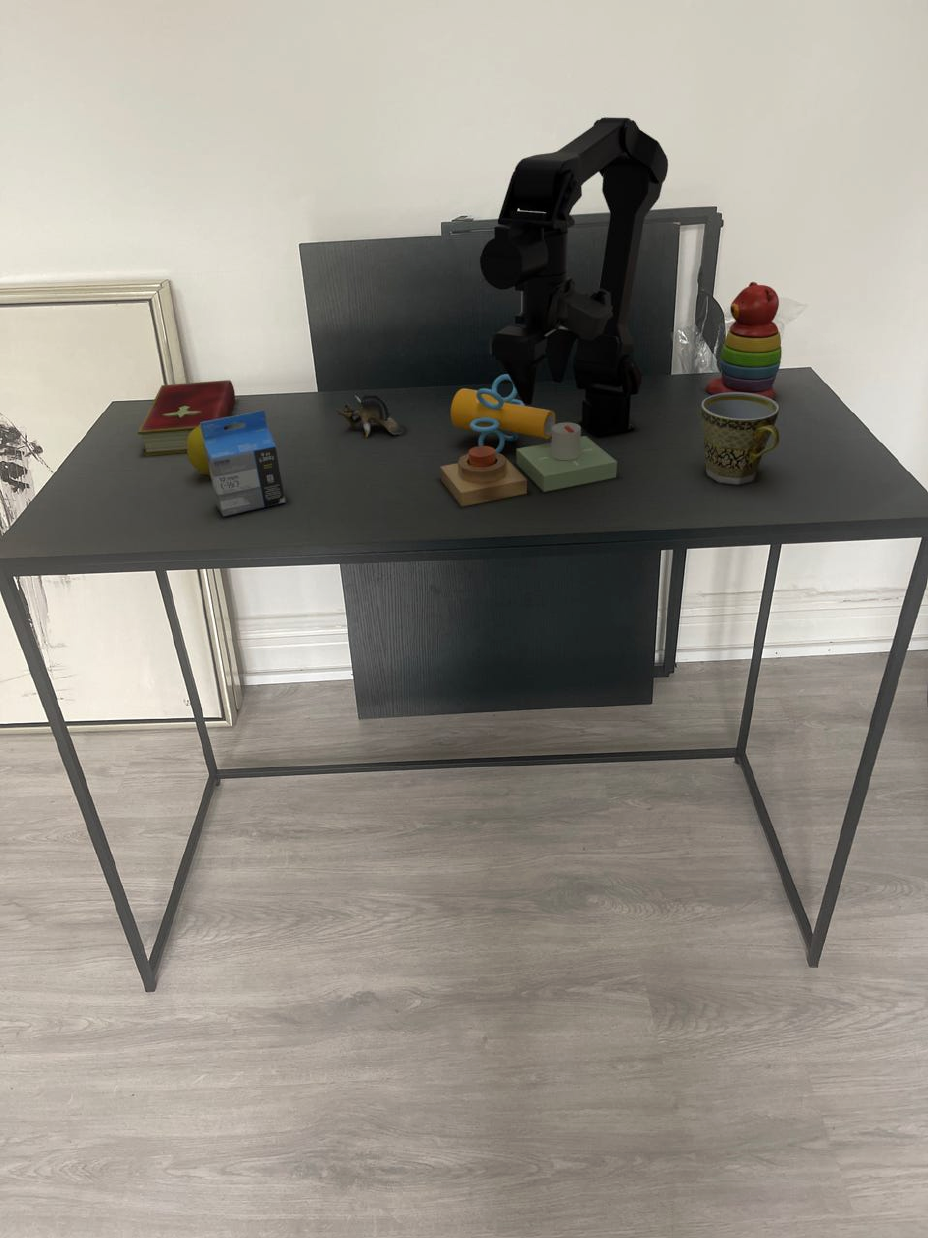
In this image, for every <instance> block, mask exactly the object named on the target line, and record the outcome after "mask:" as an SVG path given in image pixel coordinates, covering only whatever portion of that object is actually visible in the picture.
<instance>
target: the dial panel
mask: <svg viewBox="0 0 928 1238" xmlns="http://www.w3.org/2000/svg"><path fill="white" fill-rule="evenodd" d="M515 452H516V466H518V467H519V469H521V471H523V472H524V473H525V474H526V475H527V476H528V478H530V479H531V480H532V482H533V483H534V484H536V486H538V488H540V490H541V491H542V492H543V493H545V492H549V491H551V492H552V491H555V490H560V489H564V488H571V487H575V486H580V485H586V484H589V483H595V482H600V481H604V480H610V479H615V478H617V469H618V461H617V460H616V459H614V457H612V456H611V455H610V454H608V453H607V452H606V451H605V450H604V449H602V448H601V447H600V446H599V445H598V444H596V443H595V442H593V440H592V439H590V438H589V437H588V436H587V435H583V436H581V438H580V456H579V457H578V458H576V459H573V460H559V459H555V458H554V457H552V441H550V442H545V443H541V444H535V445H530V446H529V445H528V446H524V447H519V448H516V451H515Z"/></svg>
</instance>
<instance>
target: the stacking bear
mask: <svg viewBox="0 0 928 1238" xmlns="http://www.w3.org/2000/svg"><path fill="white" fill-rule="evenodd" d="M779 305H780V299H779V296H778V294H777V291H775V289H774V288H772V287H771V286H769V285H765V284H758V283H757V282H756V281H751V282H749V284H748V286H747V287H745V288H743V289H742V290H741V291H740V292H739V293H738V294H737V296H736V297H735V298H734V299H733V300H732V302H731V304H730V308H729V311H730V314H731V317H732V318H733V319H734V322H732V324H731V325H730V326H729V330H728V331H727V334H726V336H725V339H724V343H723V345H722V348H721V351H720V359H719V360H720V363H719V364H720V371H721V372H720V373H721V377H718V378H717V377H716V378H714V379H711V380H709V382H708V383H707V384H706V391H707V393H708V394H711V395H716V394H721V393H729V392H743V393H752V394H757V395H761V396H765V397H767V398H770V399H772V400H773V399H774V398H775V389H774V383H775V380H776V378H777V374H778V373H779V370H780V366H781V363H782V356H783V355H782V353H783V351H782V350H783V349H782V337H781V336H782V335H781V332H780V330H779V328H778V326H777V324H776V323H775V322H773V321H774V320H775V318H776V316H777V313H778V310H779V307H780V306H779Z"/></svg>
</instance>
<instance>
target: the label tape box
mask: <svg viewBox="0 0 928 1238" xmlns="http://www.w3.org/2000/svg"><path fill="white" fill-rule="evenodd" d="M233 423H236V424H237V425H238V424H244V426H240V427H236V428H235V427H234V428H230V429H226V430H224V427H225V426H227V427H228V426H231V425H232V424H233ZM200 426H201V431H202V435H203V444H204V449H205V453H206V457H207V461H208V466H209V470H210V474H211V476H210V478H211V483H212V488H213V492H214V497H215V501H216V504H217V508H218V510H219V511H220V513H221V515H222V517H228V516H232V515H237V514H240V513H245V512H250V511H253V510H258V509H262V508H268V507H271V506H276V505H279V504H284V503H286V495H285V489H284V483H283V479H282V473H281V467H280V461H279V455H278V449H277V446H276V444H275V441H274V439H273V436H272V434H271V432H270V428H269V427H268V424H267V417H266V411H265V410H258V411H252V412H247V413H242V414H237V415H232V416H231V415H230V417H225V418H220V419H215V420H210V421H205V422H200Z"/></svg>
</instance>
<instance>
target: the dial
mask: <svg viewBox="0 0 928 1238" xmlns="http://www.w3.org/2000/svg"><path fill="white" fill-rule="evenodd" d="M581 433H582V427H581V426H580V424H577V423H575V422H569V421H567V422H558V423H555V425H554V426H552V435H551V442H552V457H554V458H555V459H559V460H573V459H576V458H578V457H579V456H580V438H581V437H582V436H581Z"/></svg>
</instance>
